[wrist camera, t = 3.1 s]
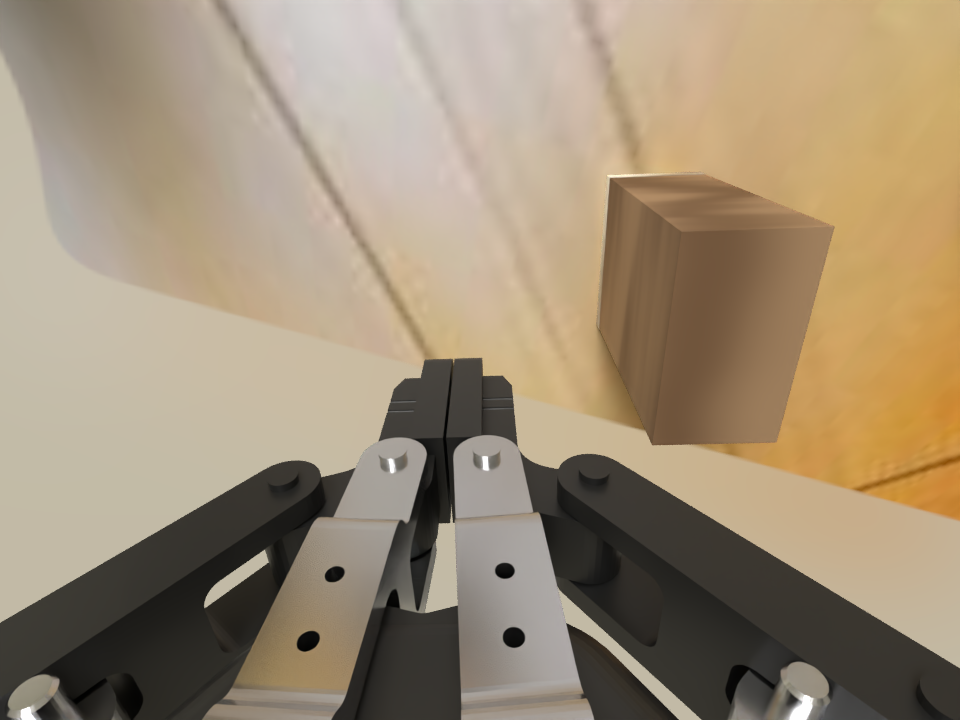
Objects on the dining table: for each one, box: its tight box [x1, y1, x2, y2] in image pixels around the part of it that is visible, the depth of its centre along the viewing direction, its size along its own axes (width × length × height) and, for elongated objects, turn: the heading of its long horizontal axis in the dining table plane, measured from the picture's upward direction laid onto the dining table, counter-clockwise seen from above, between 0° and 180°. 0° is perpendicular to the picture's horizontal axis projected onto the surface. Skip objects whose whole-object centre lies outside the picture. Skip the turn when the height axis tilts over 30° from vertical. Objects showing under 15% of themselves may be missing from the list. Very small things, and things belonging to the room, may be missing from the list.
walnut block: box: [596, 172, 834, 445], centre depth 20 cm, size 4×7×10 cm, turn 2°
